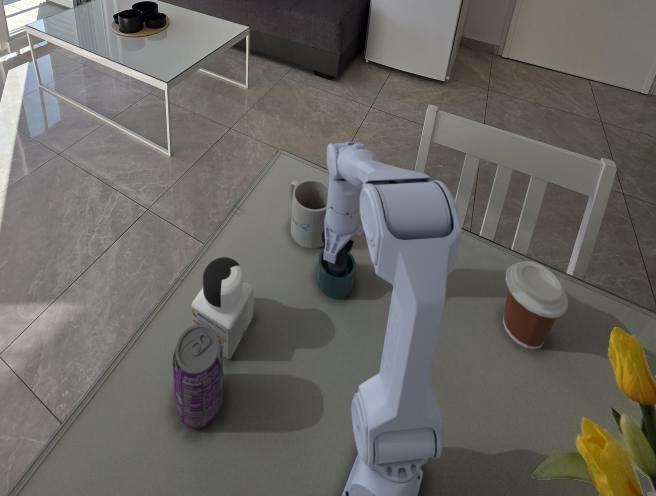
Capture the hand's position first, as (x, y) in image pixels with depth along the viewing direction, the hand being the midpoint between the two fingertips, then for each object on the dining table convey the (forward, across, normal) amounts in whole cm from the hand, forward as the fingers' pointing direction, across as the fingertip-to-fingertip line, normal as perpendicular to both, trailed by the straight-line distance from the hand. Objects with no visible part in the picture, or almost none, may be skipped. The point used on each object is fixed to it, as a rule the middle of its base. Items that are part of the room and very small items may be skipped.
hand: (337, 258), depth 81 cm
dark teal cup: (+6, 0, 0) cm, 6 cm away
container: (+6, -16, +15) cm, 23 cm away
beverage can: (+6, -27, +13) cm, 31 cm away
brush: (+4, 0, 0) cm, 4 cm away
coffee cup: (+6, +6, -33) cm, 34 cm away
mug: (+6, +10, +9) cm, 15 cm away
